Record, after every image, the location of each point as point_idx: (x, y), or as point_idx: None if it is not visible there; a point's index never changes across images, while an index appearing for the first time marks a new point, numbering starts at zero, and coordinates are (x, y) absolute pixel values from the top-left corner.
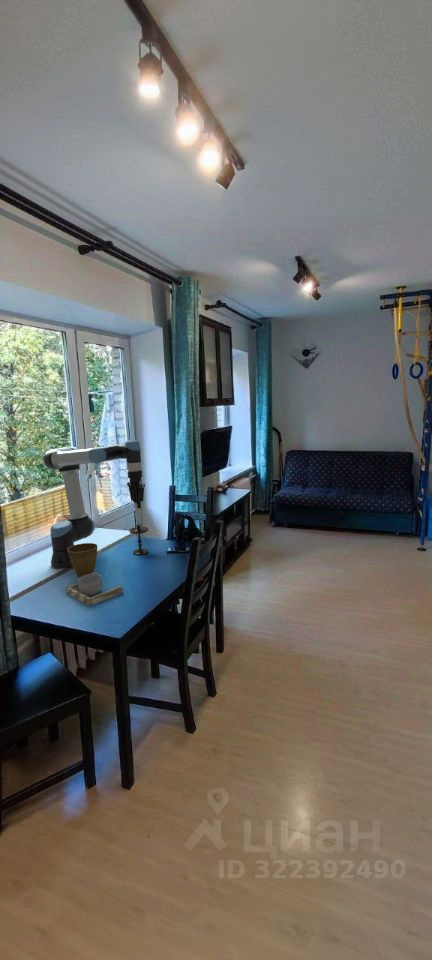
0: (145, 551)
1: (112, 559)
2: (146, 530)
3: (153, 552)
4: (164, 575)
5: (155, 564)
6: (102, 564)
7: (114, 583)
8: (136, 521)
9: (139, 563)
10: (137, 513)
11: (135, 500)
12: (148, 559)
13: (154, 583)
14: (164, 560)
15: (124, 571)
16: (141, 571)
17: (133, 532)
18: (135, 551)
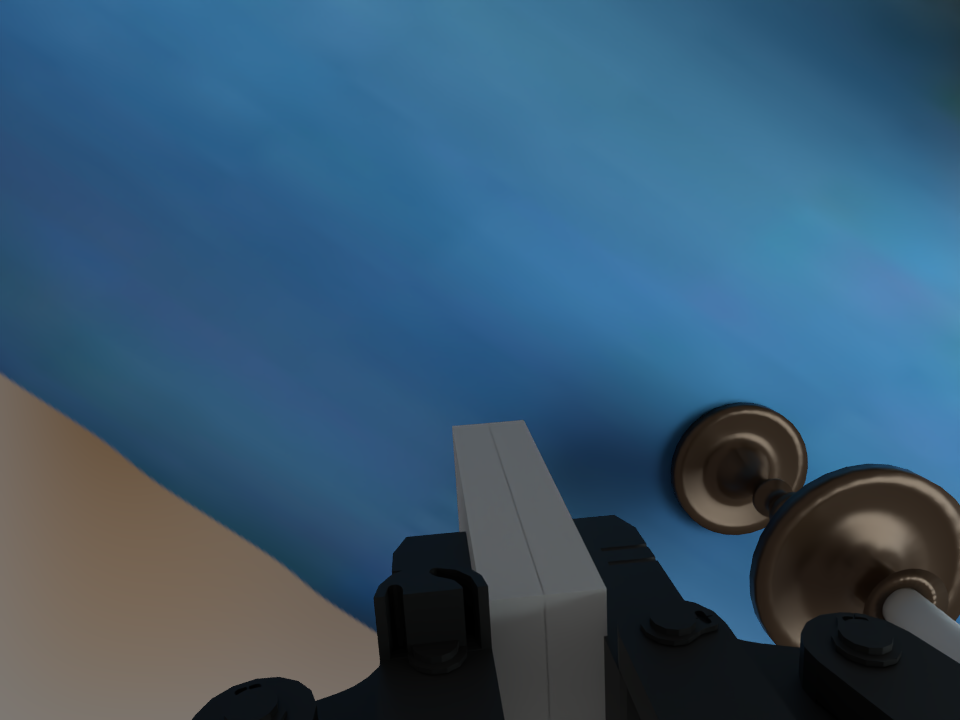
0: (712, 503)
1: (810, 209)
2: (761, 619)
3: (651, 543)
4: (109, 302)
5: (395, 396)
6: (781, 75)
7: None
8: (953, 622)
9: (526, 317)
10: (455, 451)
11: (628, 699)
12: (545, 423)
13: (7, 135)
14: (415, 499)
15: (466, 116)
16: (346, 220)
17: (835, 480)
18: (784, 445)
